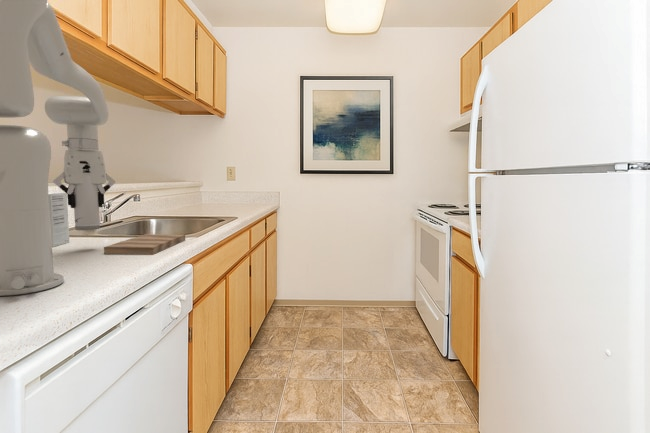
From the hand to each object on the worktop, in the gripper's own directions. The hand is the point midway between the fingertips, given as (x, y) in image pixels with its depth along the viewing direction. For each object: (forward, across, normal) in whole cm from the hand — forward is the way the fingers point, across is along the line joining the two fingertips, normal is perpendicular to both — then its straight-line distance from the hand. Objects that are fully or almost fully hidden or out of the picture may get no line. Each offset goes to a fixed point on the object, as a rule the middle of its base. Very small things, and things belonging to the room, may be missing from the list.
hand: (86, 206), depth 111 cm
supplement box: (+13, -9, +19) cm, 24 cm away
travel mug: (+7, 0, 0) cm, 7 cm away
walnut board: (+13, +15, -5) cm, 21 cm away
